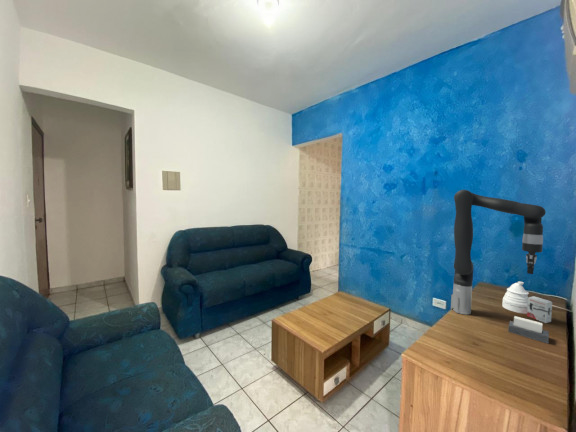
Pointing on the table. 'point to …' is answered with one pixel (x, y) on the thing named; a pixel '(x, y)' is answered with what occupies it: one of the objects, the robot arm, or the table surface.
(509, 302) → the honey pot
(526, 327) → the light grey box
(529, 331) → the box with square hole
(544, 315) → the ink box
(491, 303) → the table surface
